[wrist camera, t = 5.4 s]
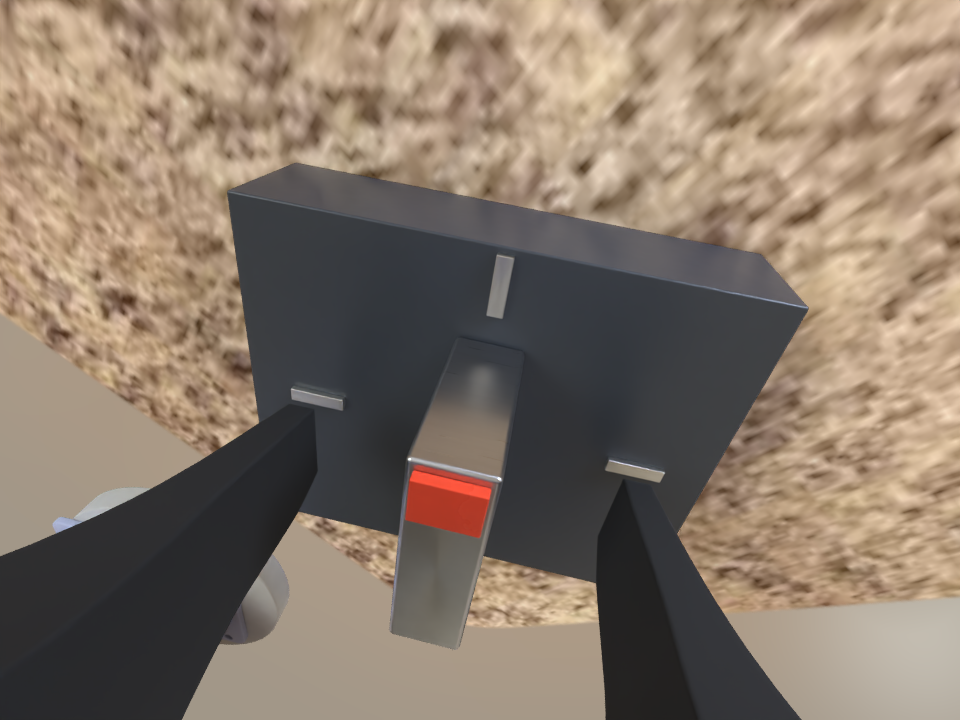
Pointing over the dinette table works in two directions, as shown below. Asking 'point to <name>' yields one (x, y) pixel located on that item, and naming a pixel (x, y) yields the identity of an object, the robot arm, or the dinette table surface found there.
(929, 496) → the dinette table surface
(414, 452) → the tap handle
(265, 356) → the block
